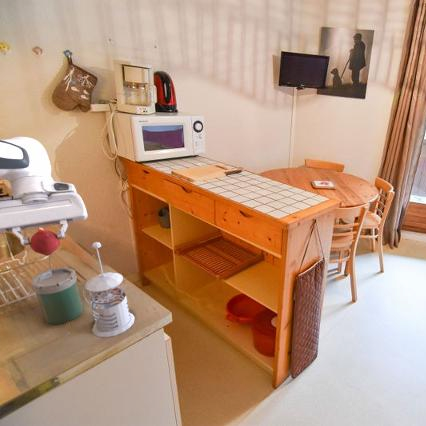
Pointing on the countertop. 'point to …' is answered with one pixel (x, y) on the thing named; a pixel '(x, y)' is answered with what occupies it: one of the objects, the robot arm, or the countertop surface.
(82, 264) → the countertop surface
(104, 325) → the french press
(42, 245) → the onion
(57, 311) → the jar
